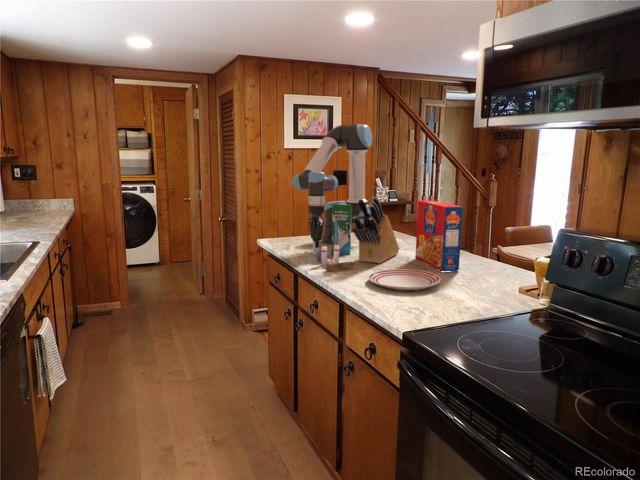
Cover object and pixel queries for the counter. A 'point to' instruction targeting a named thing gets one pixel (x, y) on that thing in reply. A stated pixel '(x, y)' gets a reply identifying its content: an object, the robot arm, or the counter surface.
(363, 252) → the knife block
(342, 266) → the brown wooden bar
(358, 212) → the robot arm
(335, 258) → the pin
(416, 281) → the dinner plate
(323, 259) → the pin
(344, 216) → the milk carton
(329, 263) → the front pin
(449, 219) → the pasta box
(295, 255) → the counter surface
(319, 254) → the ball
